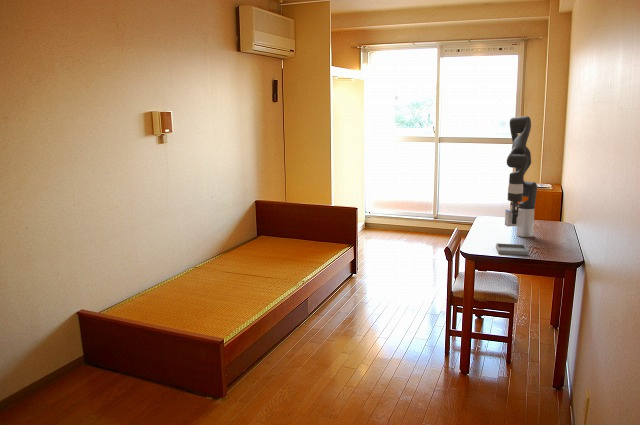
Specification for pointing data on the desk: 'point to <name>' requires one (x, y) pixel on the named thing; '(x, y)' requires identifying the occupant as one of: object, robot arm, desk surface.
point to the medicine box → (509, 218)
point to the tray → (512, 249)
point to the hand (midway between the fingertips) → (513, 222)
